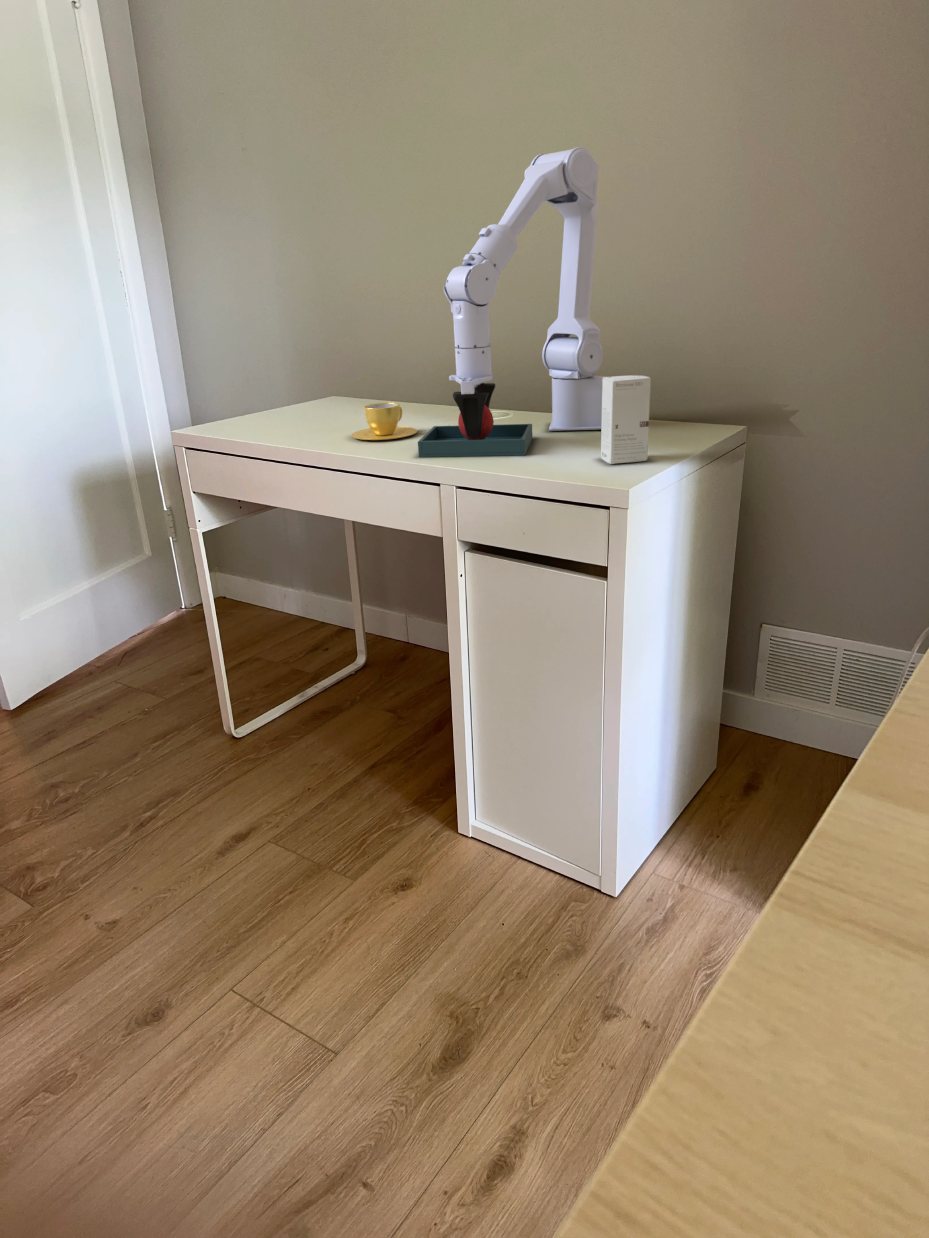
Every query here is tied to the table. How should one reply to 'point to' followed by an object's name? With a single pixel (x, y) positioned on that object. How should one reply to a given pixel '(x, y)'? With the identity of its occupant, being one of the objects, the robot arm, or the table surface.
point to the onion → (486, 425)
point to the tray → (476, 442)
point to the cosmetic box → (625, 418)
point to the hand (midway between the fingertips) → (476, 432)
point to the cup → (383, 423)
